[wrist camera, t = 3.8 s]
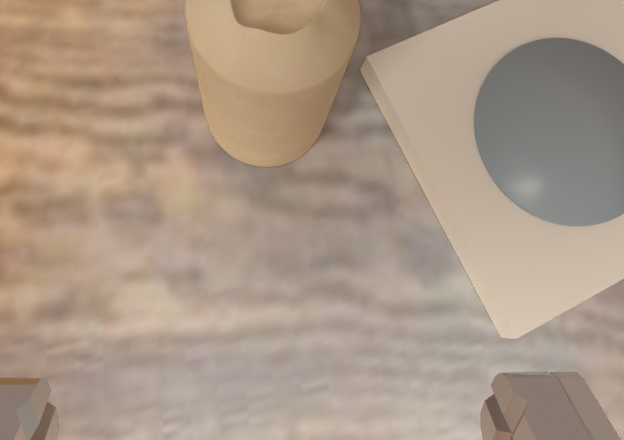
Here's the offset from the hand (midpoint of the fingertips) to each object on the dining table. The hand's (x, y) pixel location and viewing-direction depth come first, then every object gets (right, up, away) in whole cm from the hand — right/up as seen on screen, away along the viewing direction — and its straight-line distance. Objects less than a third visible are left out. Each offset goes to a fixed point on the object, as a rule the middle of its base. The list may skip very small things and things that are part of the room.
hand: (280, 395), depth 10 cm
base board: (+12, +7, +17) cm, 22 cm away
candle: (-2, +8, +16) cm, 18 cm away
